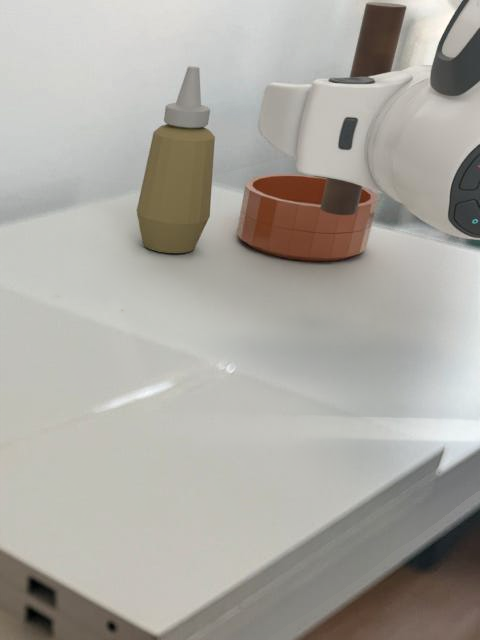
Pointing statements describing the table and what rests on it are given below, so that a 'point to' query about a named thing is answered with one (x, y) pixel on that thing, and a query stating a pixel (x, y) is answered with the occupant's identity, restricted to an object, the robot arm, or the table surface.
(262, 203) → the bowl
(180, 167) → the squeeze bottle
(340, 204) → the stirring stick
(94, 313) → the table surface
